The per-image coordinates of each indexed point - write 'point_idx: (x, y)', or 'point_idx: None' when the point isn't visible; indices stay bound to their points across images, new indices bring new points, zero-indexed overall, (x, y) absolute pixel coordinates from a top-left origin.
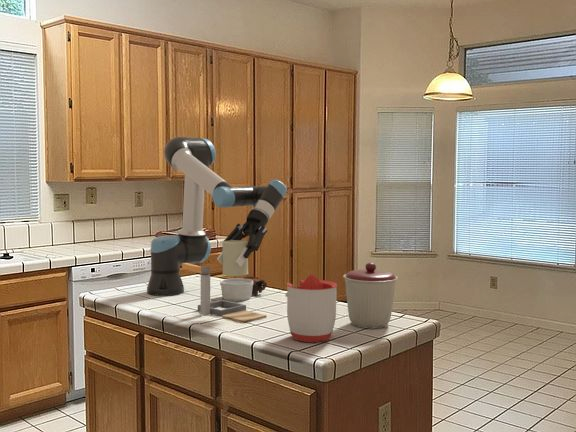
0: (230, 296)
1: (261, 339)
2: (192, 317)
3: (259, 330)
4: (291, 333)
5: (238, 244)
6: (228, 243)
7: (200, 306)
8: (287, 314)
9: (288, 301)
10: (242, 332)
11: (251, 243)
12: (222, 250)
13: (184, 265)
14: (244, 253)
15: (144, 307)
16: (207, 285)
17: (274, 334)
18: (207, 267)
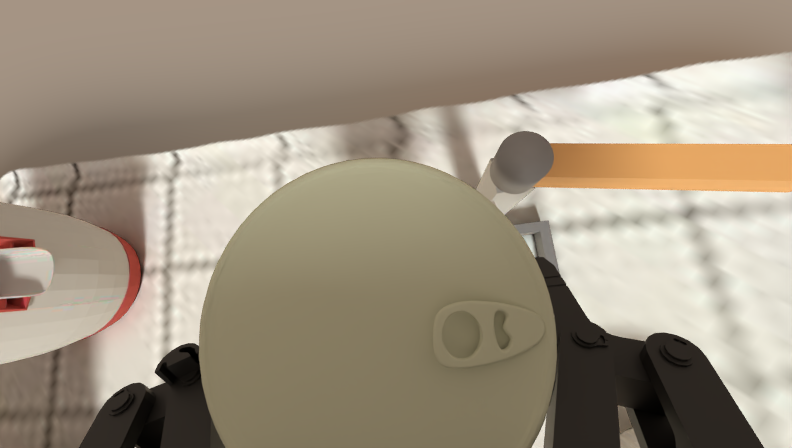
0: (633, 432)
1: (177, 180)
2: (469, 163)
3: (234, 227)
4: (113, 233)
5: (231, 260)
6: (312, 171)
7: (531, 223)
8: (71, 223)
9: (4, 206)
10: (250, 182)
11: (170, 445)
12: (553, 277)
13: (771, 148)
14: None
15: (696, 109)
16: (484, 190)
17: (183, 232)
18: (499, 155)
